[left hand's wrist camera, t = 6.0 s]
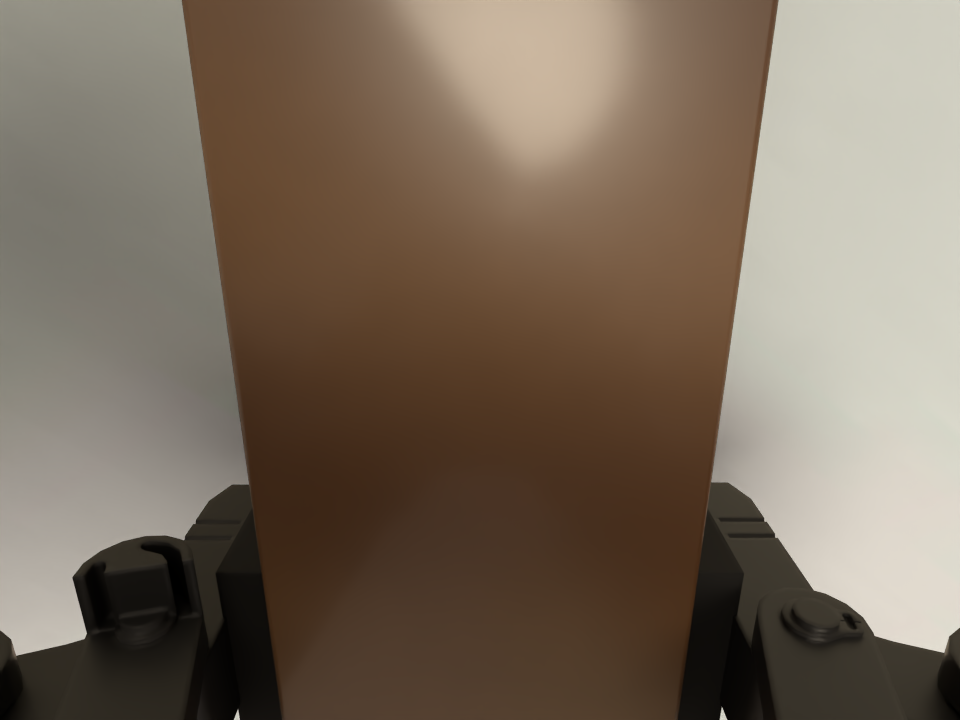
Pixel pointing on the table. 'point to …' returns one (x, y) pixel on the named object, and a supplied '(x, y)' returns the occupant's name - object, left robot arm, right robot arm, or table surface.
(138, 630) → the left robot arm
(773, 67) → the table surface
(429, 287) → the bar
